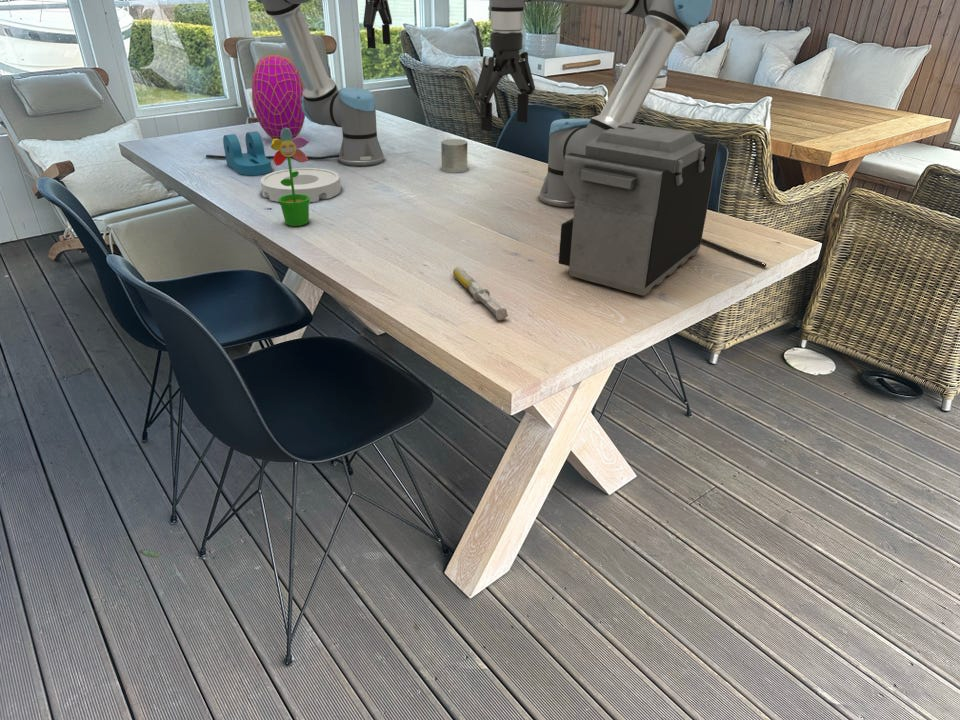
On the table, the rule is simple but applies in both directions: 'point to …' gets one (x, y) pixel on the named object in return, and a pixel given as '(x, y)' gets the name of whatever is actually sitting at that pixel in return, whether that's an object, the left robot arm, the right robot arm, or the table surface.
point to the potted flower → (291, 178)
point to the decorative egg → (277, 96)
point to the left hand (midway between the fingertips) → (379, 46)
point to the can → (454, 155)
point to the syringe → (479, 293)
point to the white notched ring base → (302, 184)
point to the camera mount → (246, 154)
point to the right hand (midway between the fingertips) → (504, 126)
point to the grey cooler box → (636, 205)
